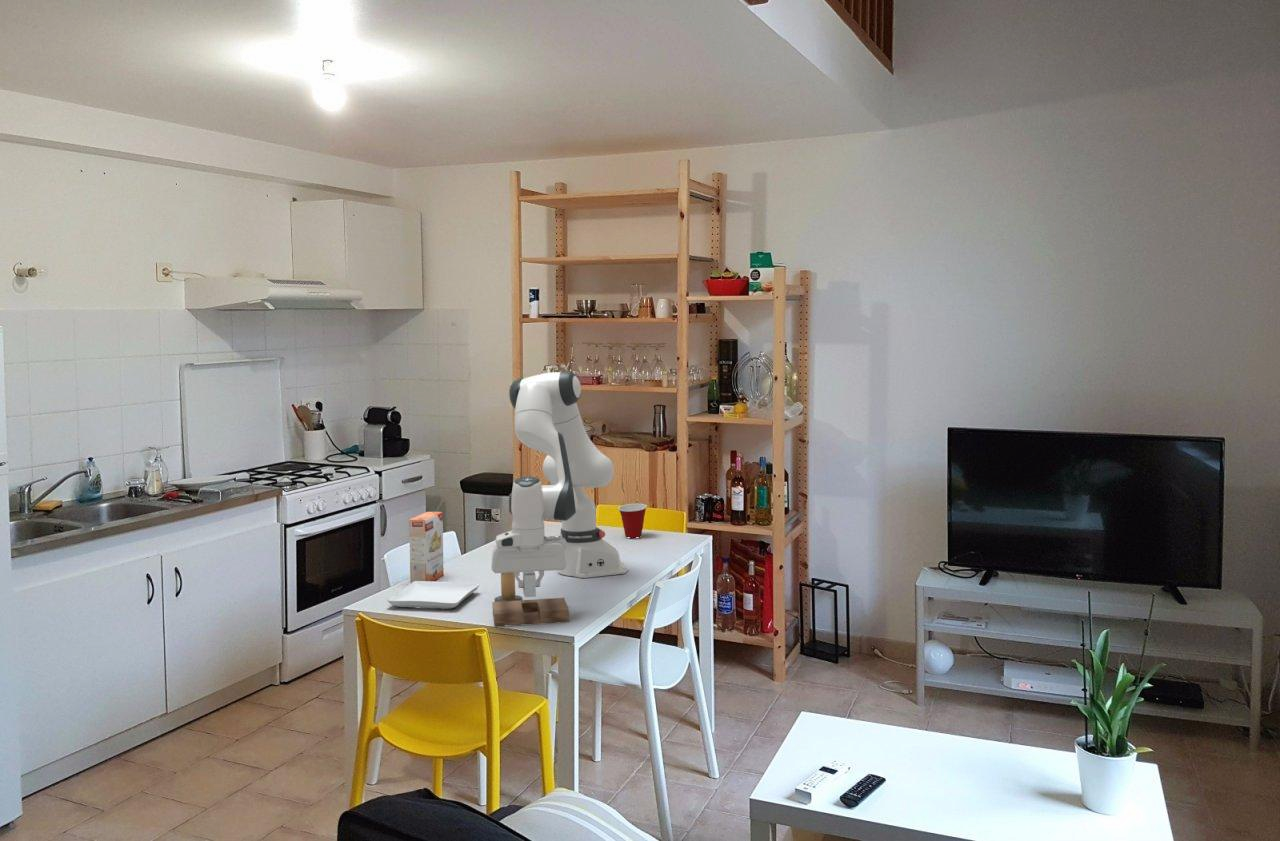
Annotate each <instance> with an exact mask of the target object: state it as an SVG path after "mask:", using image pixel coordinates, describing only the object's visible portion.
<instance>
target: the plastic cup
mask: <svg viewBox="0 0 1280 841" xmlns="http://www.w3.org/2000/svg"><path fill="white" fill-rule="evenodd" d="M647 508H648V506H647V504H644V503H627V504H623V505H620V506H618V508H617V509H618V511H619V514H620V516H621V521H622V526H623V527H622V528H623V531H624V536H625V538H626V537H630V538H636V537H640V536H641V537H642V534H643V528H644V523H645V522H644V521H645V516H646V510H647Z"/></svg>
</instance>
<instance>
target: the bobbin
mask: <svg viewBox="0 0 1280 841" xmlns="http://www.w3.org/2000/svg"><path fill="white" fill-rule="evenodd" d="M500 588H501V589H500V593H501V595H499V596H496V597H495V598H494V602H502V601H518V600H523V596H520V595H517V594H516V578H515V576H514V572H512V573H500Z"/></svg>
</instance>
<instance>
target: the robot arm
mask: <svg viewBox="0 0 1280 841" xmlns="http://www.w3.org/2000/svg"><path fill="white" fill-rule="evenodd" d="M581 386H582V385H581V382H580V380H579V377H578V375H577V374H575V373H574V372H573V371H569V370H561V371H555V372H553V371H552V372H544V373H540V374H535V375H531V376H528V377H521V378H518V379H516V380H514V381H513V382H512V383H511V385H509V390H508V393H509V394H508V396H509V400H510V403H511V405H512V407H513V409H514V422H513V423H514V432H515V436H516V438H517V439H518V440H519V442H521V444H522V445H524V446H526V447H527V448H529V449H531V450H535V451H536V452H537V451H538V452H541V453H543V454H546V457H545V458H544V460H543V463H542V473H543V475H544V477H545V479H546V480H547V481H548V482H549V483H550V484H542V481H541V479H540V478H538V477H536V476H530V475H528V476H521V477H518V478H515V479H514V481H513V483H512V488H511V489H512V490H511V493H510V494H508V511H509V512H508V513H510V514H511V516H512V523H511V530H508V531H505V532H503V533H501V534H497V535H496V536H495V544H496V545H495V546H494V547H493V550H492V555H491V571H492V572H493V573H494V574H501V573H512V572H514V576H515V580H516V581H517V583H518V589H523V588H524V580H523V579H521V578H520V577H519V576H520V574H521V573H523V572H530V571H534V572H538V578H537V579H536V578H535V579H536V588H541V581H542V579H543V578H544V576H545V572H546V571H548V572H549V571H557V573H559V574H560V575H563V576H568V577H575V578H580V579H587V578H596V577H605V576H613V575H621V574H622V575H623V574H626V573H627V572H628V566H627V565H626V564H625V563H623V562H622V561H621V557H620V554H619V551H618V550H617V549H616V548H615V547H614V546H612V545H611V544H610V542H609V543H608V541H605V540H604V539H603V538H605V536H606V532H605V531H604V530H602V529H601V528H599V527H597V514H596V513H597V512H596V511H597V510H596V509H597V507H596V504H595V502H594V501H593V499H591V498H590V497H589V496H588V495H587V493H586V492H585V488H592V489H594V488H601V487H607V486H608V485H609V484H610V483H611V482H612V480H613V477H614V475H615V467H614V464H613V462H612V460H611V459H610V458H609V457H608V456H607V455H605V454H604V453H602V452H601V451H600V449H598V448H597V447H596V445H595V444H594V443H593V442H592V440H591V439H590V436H589V435H588V433H587V432H586V429H585V426H584V423H583V419H582V416H581V413H580V410H579V406H578V403H577V402H578V401H579V399H580V398H581V393H582V387H581ZM544 520H554V521H561V528H560V535H554V536H553V535H547V536H546V535H545V521H544Z"/></svg>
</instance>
